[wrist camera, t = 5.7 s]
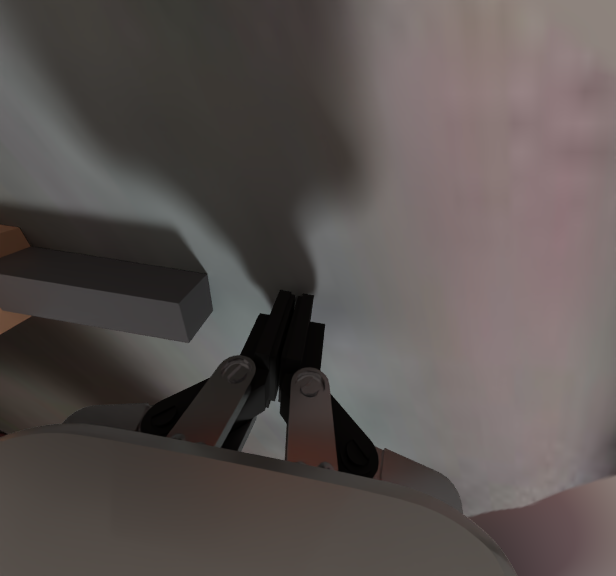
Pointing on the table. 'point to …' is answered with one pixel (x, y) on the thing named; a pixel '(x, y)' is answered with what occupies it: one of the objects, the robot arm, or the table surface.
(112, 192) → the table surface
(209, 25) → the table surface
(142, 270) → the plug
